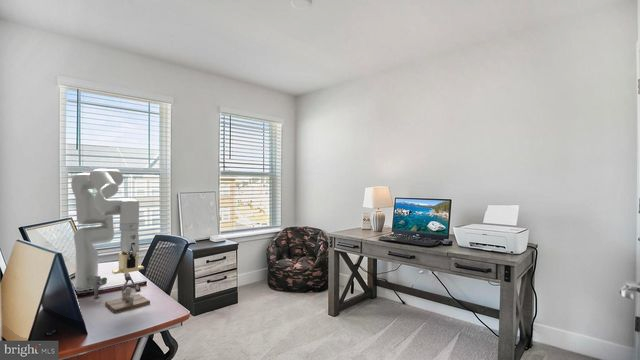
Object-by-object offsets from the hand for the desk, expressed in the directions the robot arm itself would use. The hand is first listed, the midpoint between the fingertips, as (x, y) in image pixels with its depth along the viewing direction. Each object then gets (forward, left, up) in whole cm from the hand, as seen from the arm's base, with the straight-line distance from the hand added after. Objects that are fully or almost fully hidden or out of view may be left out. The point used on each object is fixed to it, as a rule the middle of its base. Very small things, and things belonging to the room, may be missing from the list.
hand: (128, 266), depth 143 cm
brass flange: (0, 0, -2) cm, 2 cm away
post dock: (0, 0, -17) cm, 17 cm away
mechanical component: (-20, -7, -18) cm, 28 cm away
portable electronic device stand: (-20, +8, -18) cm, 28 cm away
